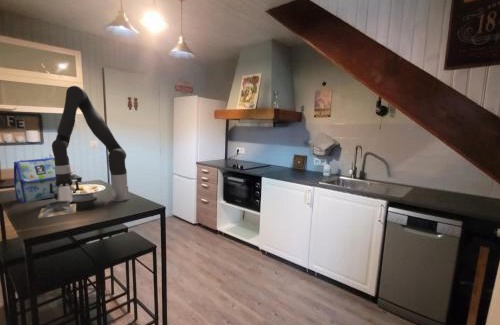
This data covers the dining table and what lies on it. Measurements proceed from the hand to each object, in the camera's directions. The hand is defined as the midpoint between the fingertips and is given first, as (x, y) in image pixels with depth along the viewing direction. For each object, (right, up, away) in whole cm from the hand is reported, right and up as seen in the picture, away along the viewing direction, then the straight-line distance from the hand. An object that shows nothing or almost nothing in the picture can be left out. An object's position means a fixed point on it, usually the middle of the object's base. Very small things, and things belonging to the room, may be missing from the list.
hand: (65, 198), depth 156 cm
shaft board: (+7, -6, -15) cm, 17 cm away
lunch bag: (-24, -2, +12) cm, 27 cm away
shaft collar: (+7, -4, -15) cm, 17 cm away
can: (0, -4, +1) cm, 4 cm away
